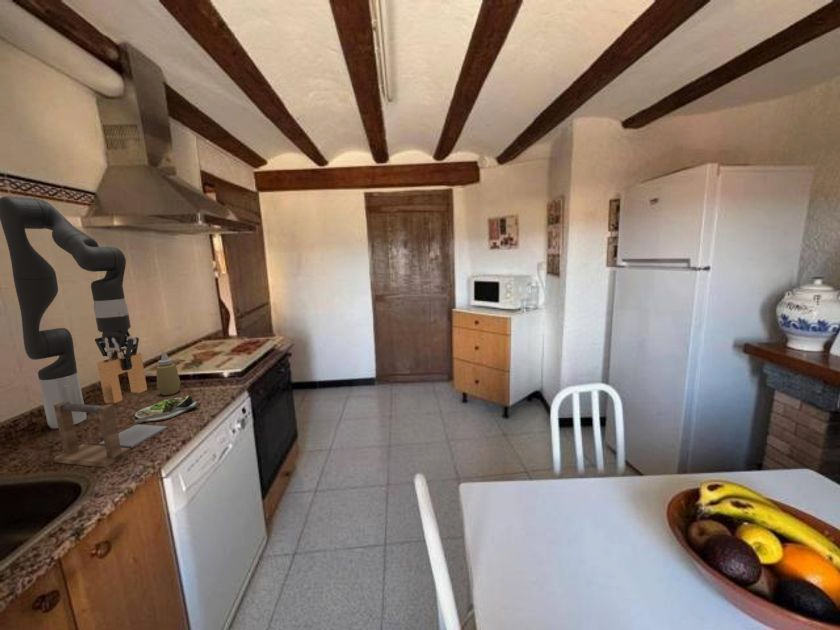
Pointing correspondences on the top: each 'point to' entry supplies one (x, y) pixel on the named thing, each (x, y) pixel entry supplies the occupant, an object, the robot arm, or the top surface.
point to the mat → (137, 434)
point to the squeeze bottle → (167, 376)
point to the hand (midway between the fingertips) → (122, 369)
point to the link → (111, 381)
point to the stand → (85, 453)
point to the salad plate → (166, 409)
